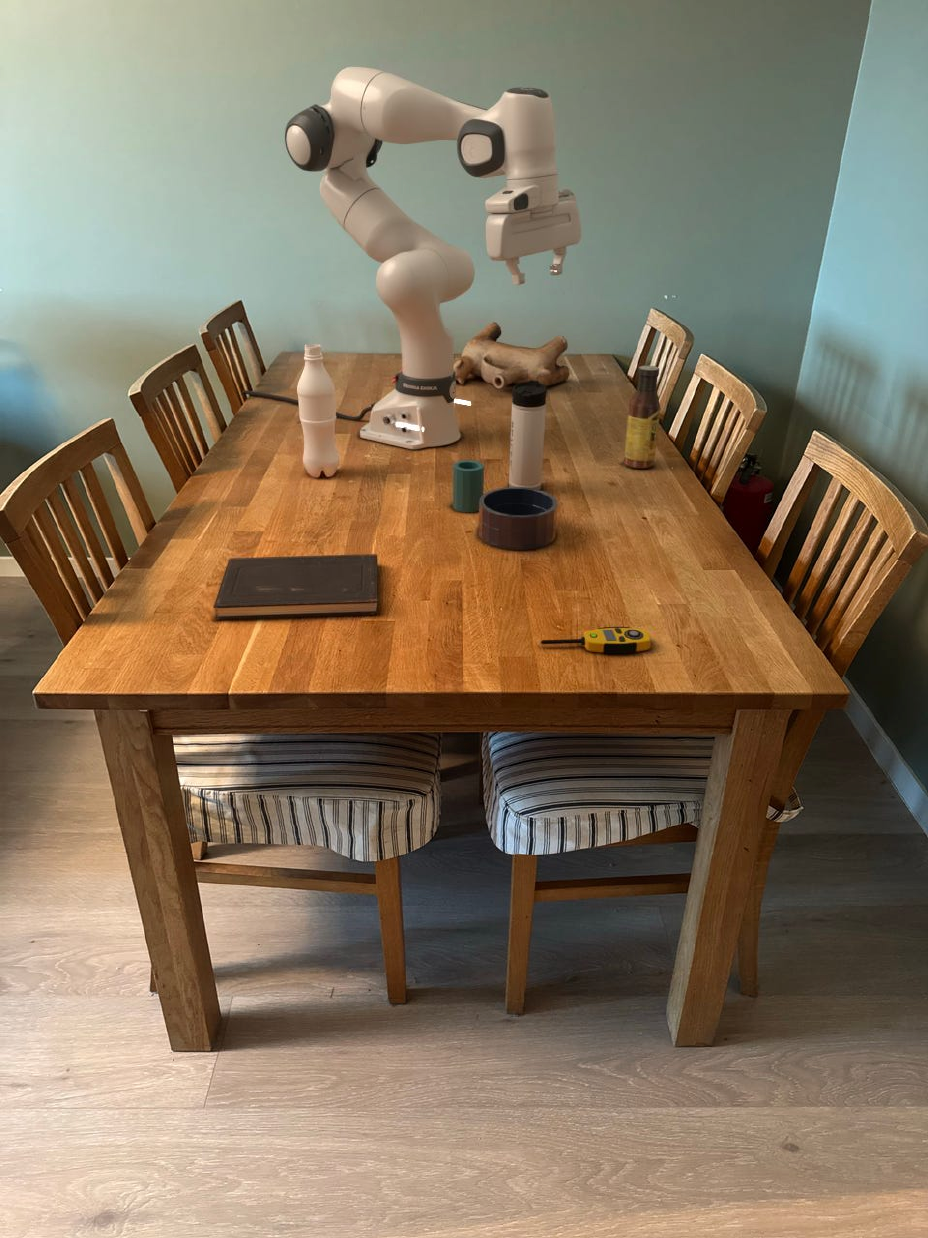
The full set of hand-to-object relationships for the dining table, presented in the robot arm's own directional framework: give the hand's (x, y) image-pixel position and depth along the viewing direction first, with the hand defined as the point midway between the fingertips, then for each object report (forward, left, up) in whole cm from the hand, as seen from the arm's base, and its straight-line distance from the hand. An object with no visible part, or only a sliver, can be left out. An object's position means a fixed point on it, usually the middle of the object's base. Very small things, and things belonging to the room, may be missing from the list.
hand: (537, 279), depth 159 cm
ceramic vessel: (-26, +61, -37) cm, 76 cm away
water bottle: (-38, -17, -37) cm, 56 cm away
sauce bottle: (+20, +12, -37) cm, 44 cm away
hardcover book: (-17, -62, -37) cm, 74 cm away
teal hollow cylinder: (-5, -22, -37) cm, 43 cm away
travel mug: (+2, -9, -37) cm, 38 cm away
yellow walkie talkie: (+28, -61, -37) cm, 76 cm away
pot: (+7, -30, -37) cm, 48 cm away
